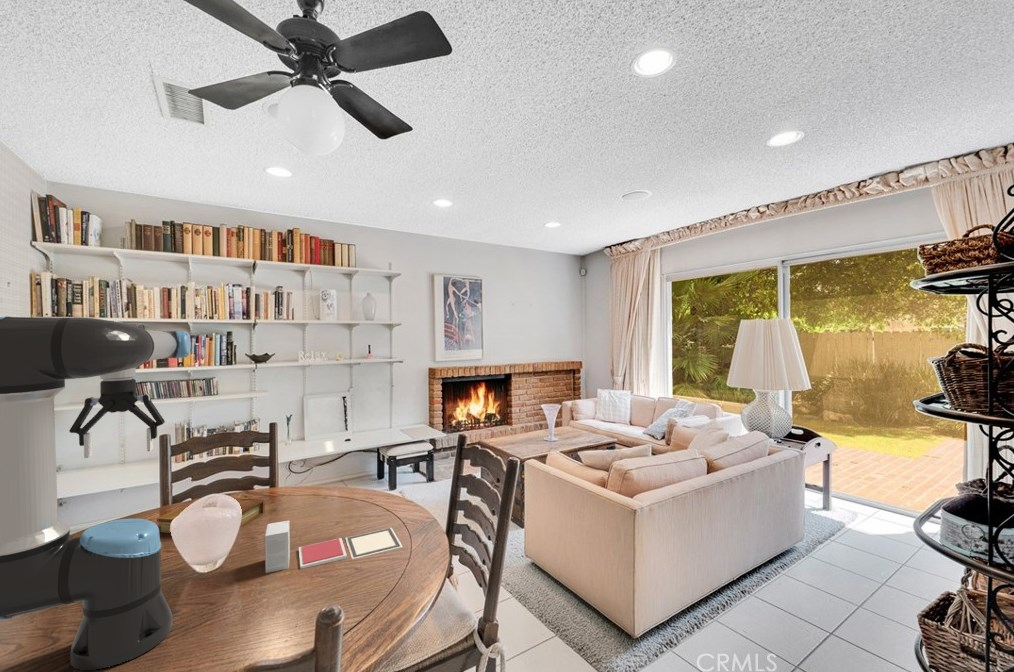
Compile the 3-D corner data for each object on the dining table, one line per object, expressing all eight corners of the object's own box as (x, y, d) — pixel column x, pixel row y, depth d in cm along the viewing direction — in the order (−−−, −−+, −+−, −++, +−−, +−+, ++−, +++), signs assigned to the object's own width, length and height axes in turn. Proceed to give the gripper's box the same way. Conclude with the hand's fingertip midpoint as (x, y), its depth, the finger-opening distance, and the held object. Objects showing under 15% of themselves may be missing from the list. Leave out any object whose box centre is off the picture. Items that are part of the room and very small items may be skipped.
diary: (264, 515, 149) (264, 498, 149) (220, 541, 131) (220, 522, 131) (207, 511, 153) (207, 495, 153) (157, 535, 135) (156, 517, 135)
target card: (402, 547, 125) (402, 545, 125) (352, 560, 118) (352, 558, 118) (391, 528, 137) (391, 526, 137) (345, 539, 130) (345, 537, 130)
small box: (267, 561, 118) (266, 523, 118) (290, 556, 121) (289, 519, 121) (264, 576, 111) (264, 536, 111) (289, 571, 113) (288, 531, 113)
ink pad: (346, 559, 119) (346, 554, 119) (300, 571, 113) (300, 565, 113) (341, 541, 129) (341, 536, 129) (298, 551, 123) (298, 546, 123)
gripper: (175, 375, 131) (177, 444, 131) (65, 380, 120) (66, 456, 120) (169, 377, 124) (170, 450, 124) (51, 383, 113) (53, 463, 113)
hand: (119, 453), depth 122 cm, fingers open, 13 cm apart
